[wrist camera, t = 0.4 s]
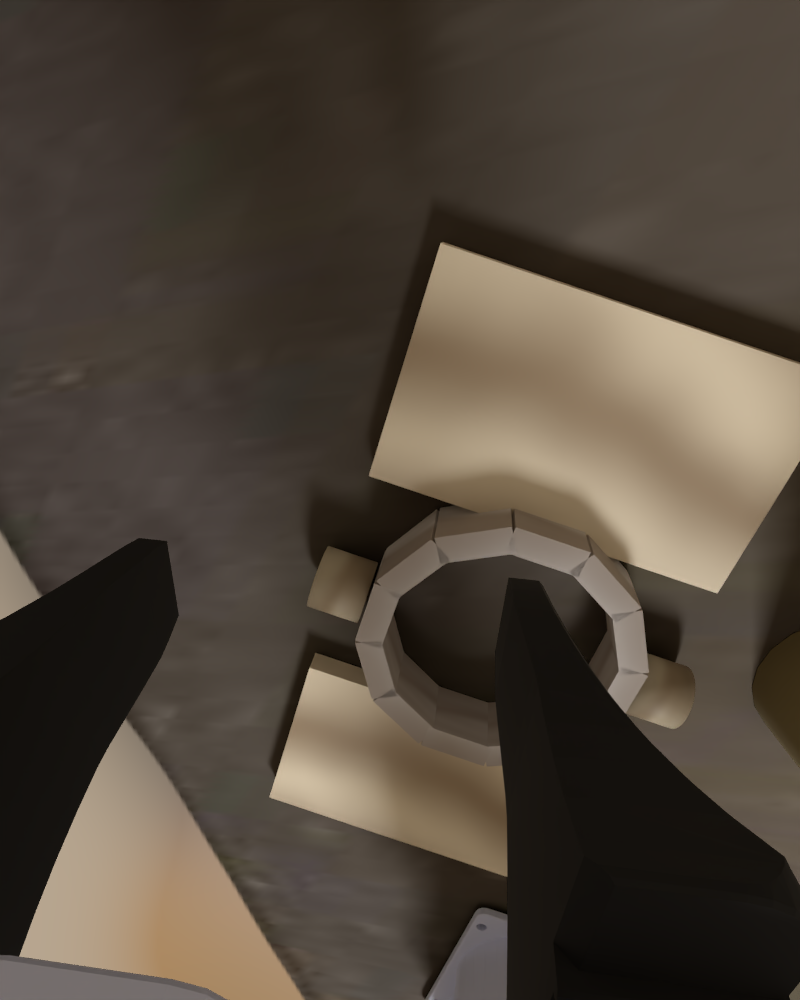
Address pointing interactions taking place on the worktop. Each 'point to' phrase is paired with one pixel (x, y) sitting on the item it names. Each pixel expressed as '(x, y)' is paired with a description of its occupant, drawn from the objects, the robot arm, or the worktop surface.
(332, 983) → the worktop surface
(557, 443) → the hinge base
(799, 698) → the cork
